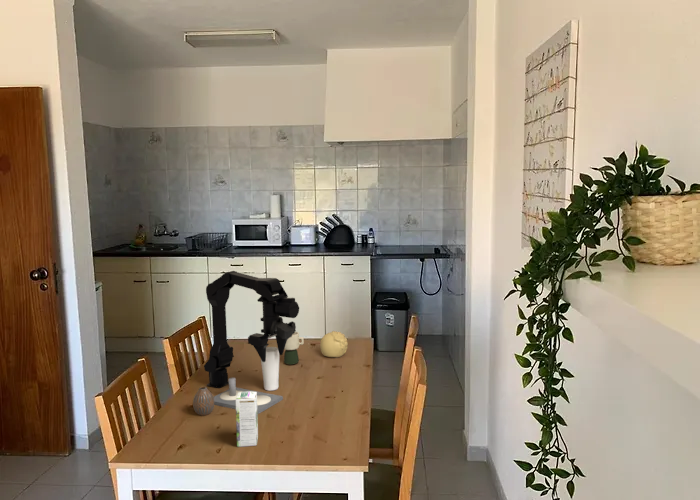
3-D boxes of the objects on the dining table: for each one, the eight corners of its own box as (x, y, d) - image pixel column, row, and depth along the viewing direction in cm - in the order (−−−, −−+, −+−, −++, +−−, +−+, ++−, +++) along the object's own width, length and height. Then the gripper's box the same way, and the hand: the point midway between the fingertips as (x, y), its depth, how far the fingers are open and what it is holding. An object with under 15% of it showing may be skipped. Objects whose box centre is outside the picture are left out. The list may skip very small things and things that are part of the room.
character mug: (304, 360, 245) (303, 330, 243) (304, 365, 238) (303, 334, 236) (278, 361, 244) (277, 331, 242) (278, 366, 237) (277, 336, 235)
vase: (219, 410, 193) (217, 385, 192) (207, 418, 186) (206, 392, 185) (201, 408, 195) (200, 383, 194) (189, 416, 189) (187, 390, 188)
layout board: (207, 403, 199) (206, 382, 198) (233, 390, 211) (232, 370, 210) (258, 414, 189) (257, 392, 188) (282, 399, 201) (282, 379, 200)
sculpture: (347, 359, 245) (347, 334, 244) (319, 359, 245) (318, 335, 244) (348, 351, 256) (347, 328, 255) (321, 352, 256) (320, 328, 255)
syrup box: (239, 438, 171) (236, 391, 169) (259, 437, 171) (256, 390, 170) (236, 447, 165) (234, 398, 164) (257, 446, 166) (255, 397, 164)
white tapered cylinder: (277, 392, 208) (275, 352, 206) (259, 391, 209) (257, 351, 207) (283, 385, 214) (281, 347, 213) (265, 385, 216) (264, 346, 214)
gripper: (271, 323, 187) (272, 369, 189) (305, 312, 203) (307, 354, 205) (245, 319, 193) (247, 364, 195) (281, 308, 209) (282, 350, 211)
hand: (272, 358), depth 201 cm, fingers open, 9 cm apart
